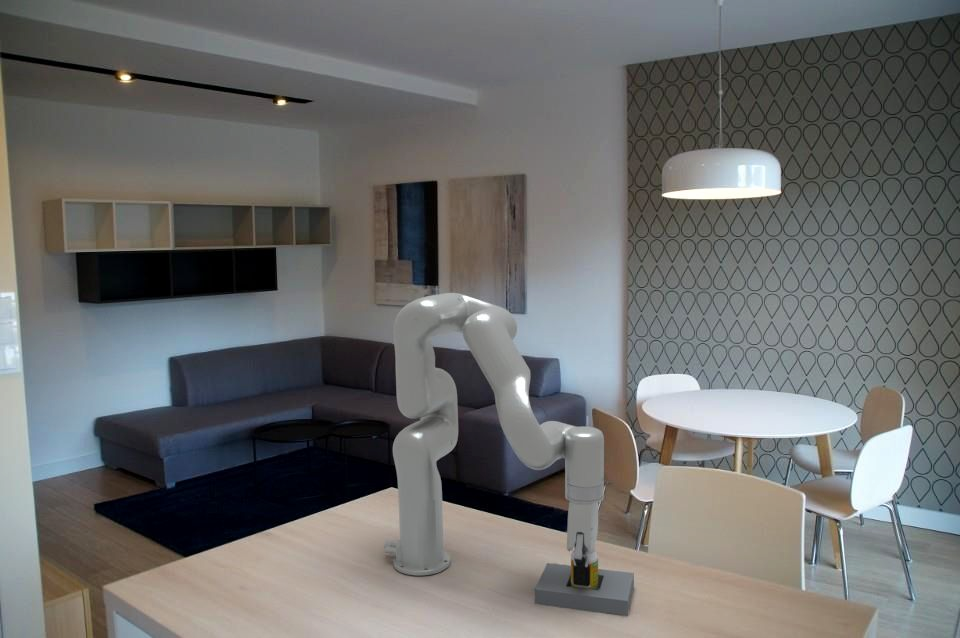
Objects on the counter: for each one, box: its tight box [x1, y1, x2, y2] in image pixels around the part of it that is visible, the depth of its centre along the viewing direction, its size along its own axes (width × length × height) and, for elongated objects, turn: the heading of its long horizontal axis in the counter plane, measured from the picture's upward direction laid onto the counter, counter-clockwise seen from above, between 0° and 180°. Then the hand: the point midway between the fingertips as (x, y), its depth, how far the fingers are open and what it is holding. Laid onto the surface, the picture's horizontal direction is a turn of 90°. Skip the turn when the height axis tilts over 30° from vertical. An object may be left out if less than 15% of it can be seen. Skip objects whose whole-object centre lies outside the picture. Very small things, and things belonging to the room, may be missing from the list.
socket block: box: [534, 562, 635, 617], centre depth 149 cm, size 18×12×3 cm, turn 73°
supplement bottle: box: [570, 543, 599, 590], centre depth 148 cm, size 5×5×10 cm
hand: (584, 576), depth 149 cm, fingers closed on supplement bottle, 5 cm apart
